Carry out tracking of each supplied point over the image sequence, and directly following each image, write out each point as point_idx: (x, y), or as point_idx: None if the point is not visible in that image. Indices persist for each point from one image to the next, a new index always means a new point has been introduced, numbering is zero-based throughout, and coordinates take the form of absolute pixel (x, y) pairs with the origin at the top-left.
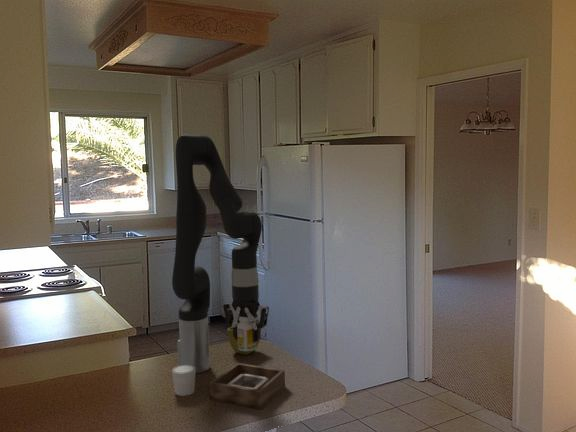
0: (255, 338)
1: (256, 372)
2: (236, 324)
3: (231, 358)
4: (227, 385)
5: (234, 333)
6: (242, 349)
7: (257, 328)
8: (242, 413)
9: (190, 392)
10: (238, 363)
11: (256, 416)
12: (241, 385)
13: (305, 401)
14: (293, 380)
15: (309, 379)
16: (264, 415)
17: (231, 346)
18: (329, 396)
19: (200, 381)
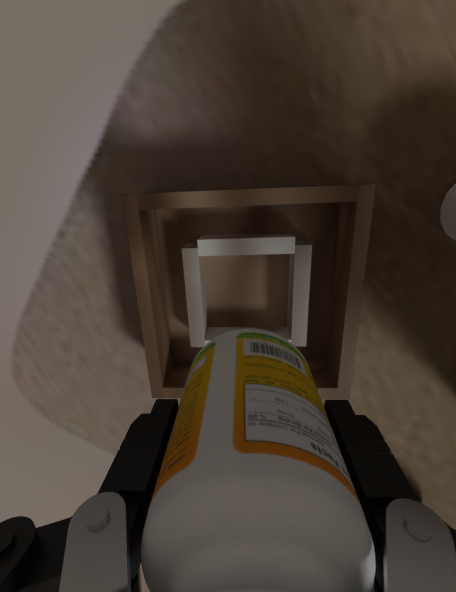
0: (149, 421)
1: None
2: (384, 546)
3: (418, 472)
4: (283, 194)
5: (371, 443)
6: (249, 331)
7: (80, 516)
8: (185, 140)
9: (450, 195)
10: (343, 396)
11: (129, 141)
12: (285, 309)
13: (60, 301)
14: None
15: (131, 422)
16: (111, 161)
17: (447, 524)
18: (24, 352)
19: (452, 302)
